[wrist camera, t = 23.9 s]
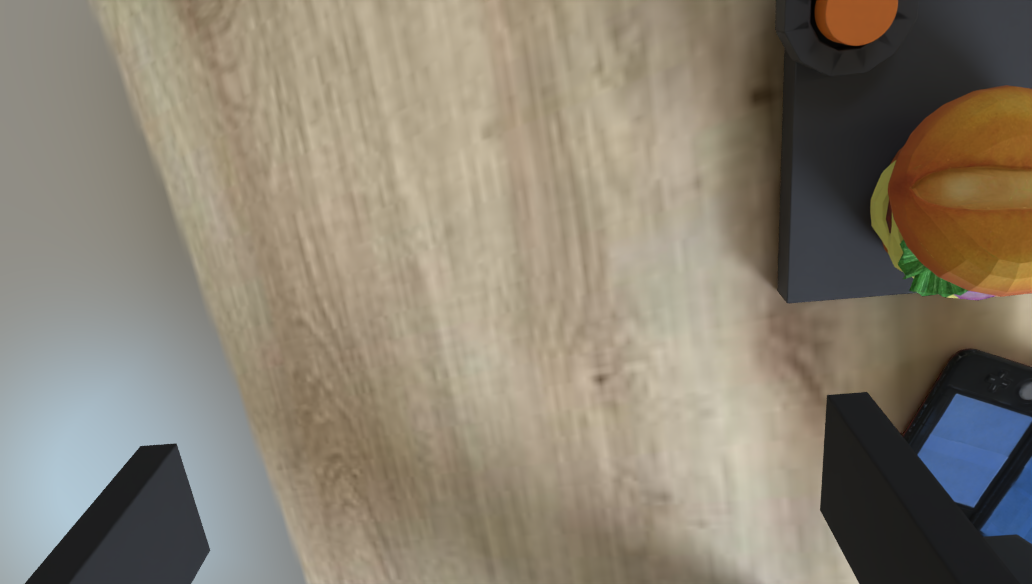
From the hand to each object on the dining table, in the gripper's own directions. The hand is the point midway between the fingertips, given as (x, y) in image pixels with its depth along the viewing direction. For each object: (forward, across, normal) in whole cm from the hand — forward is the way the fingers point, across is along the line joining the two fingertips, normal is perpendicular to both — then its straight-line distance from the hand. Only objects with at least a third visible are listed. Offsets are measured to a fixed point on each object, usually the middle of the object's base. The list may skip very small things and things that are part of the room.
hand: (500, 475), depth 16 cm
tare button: (+26, +16, +6) cm, 31 cm away
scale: (+29, +21, 0) cm, 36 cm away
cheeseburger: (+27, +22, -3) cm, 35 cm away
